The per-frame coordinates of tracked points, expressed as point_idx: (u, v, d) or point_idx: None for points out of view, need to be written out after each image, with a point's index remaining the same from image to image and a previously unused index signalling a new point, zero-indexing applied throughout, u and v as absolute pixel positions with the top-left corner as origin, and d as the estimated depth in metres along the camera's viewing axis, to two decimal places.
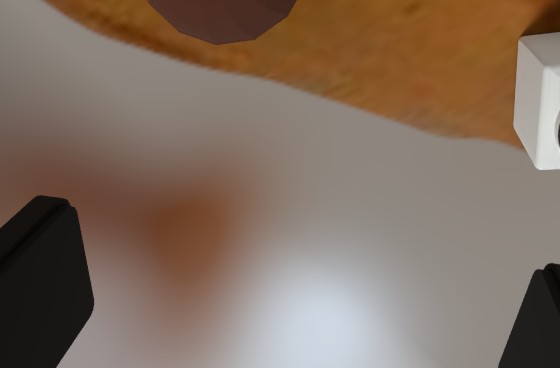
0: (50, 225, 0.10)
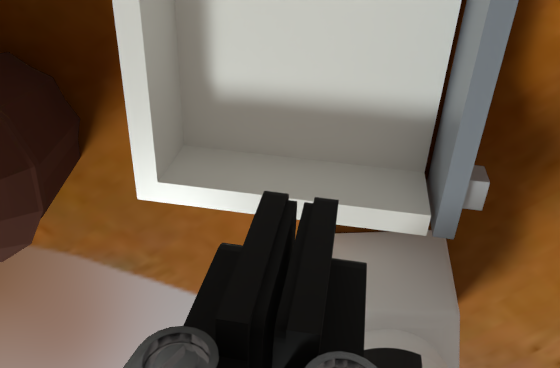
0: (290, 219, 0.10)
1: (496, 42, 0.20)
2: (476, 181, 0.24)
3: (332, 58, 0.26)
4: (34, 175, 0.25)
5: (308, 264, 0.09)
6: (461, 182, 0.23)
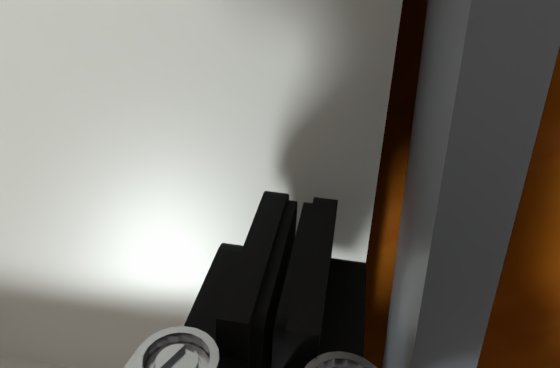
0: (291, 219, 0.10)
1: (461, 317, 0.08)
2: None
3: (152, 235, 0.13)
4: None
5: (307, 264, 0.09)
6: None
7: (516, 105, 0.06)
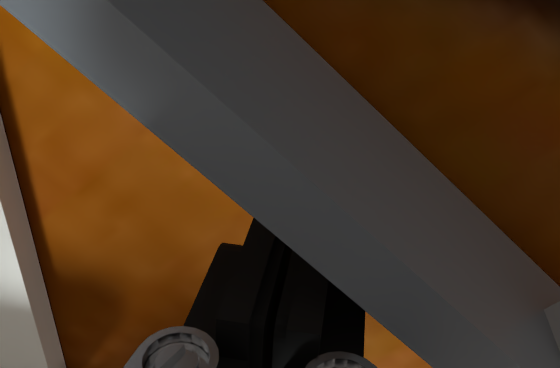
0: None
1: (242, 155, 0.07)
2: None
3: None
4: None
5: (308, 264, 0.09)
6: None
7: None
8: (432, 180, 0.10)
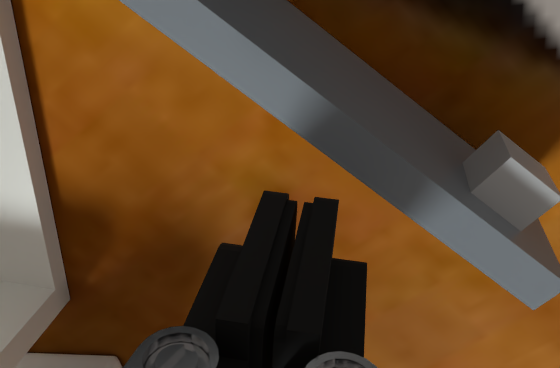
0: (290, 219, 0.10)
1: (212, 34, 0.10)
2: (491, 175, 0.12)
3: None
4: None
5: (308, 264, 0.09)
6: (452, 213, 0.11)
7: None
8: (371, 76, 0.14)
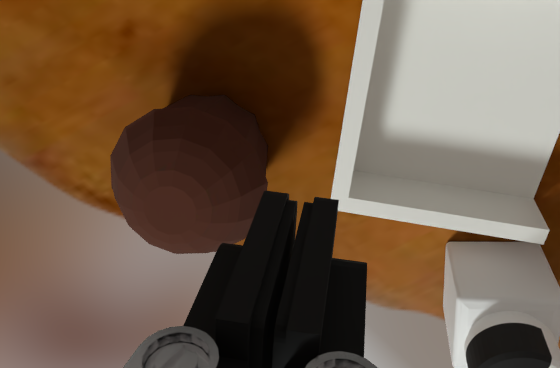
0: (290, 219, 0.10)
1: None
2: None
3: (479, 114, 0.36)
4: (265, 189, 0.35)
5: (308, 264, 0.09)
6: None
7: None
8: None
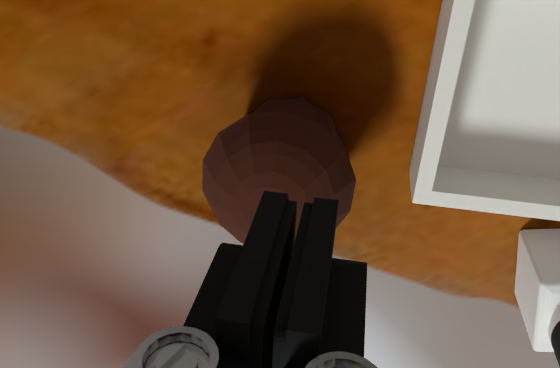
0: (290, 218, 0.10)
1: None
2: None
3: (556, 105, 0.37)
4: (354, 186, 0.36)
5: (308, 264, 0.09)
6: None
7: None
8: None
